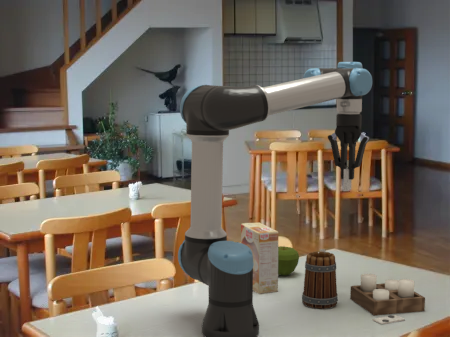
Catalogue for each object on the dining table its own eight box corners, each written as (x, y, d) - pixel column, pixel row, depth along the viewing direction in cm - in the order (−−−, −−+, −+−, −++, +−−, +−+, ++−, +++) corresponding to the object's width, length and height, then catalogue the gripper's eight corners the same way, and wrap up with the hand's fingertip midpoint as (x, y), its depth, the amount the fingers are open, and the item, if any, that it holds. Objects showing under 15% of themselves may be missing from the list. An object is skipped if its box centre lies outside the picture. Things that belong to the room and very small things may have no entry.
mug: (336, 310, 213) (338, 260, 211) (300, 308, 215) (301, 258, 213) (339, 294, 228) (340, 247, 226) (305, 292, 230) (306, 245, 228)
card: (380, 324, 201) (381, 322, 201) (372, 320, 205) (372, 318, 205) (404, 320, 205) (404, 318, 204) (395, 316, 208) (395, 314, 208)
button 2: (376, 311, 211) (377, 294, 210) (369, 306, 215) (370, 289, 214) (391, 309, 212) (392, 292, 211) (384, 304, 216) (384, 288, 216)
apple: (263, 271, 254) (263, 243, 253) (291, 269, 257) (291, 241, 256) (274, 280, 244) (275, 250, 242) (304, 277, 247) (304, 248, 245)
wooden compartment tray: (373, 315, 209) (374, 301, 208) (350, 298, 224) (350, 286, 224) (424, 311, 213) (425, 297, 212) (398, 294, 228) (398, 282, 228)
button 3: (388, 300, 220) (389, 284, 220) (381, 295, 225) (382, 279, 224) (402, 299, 222) (403, 283, 221) (395, 294, 226) (396, 278, 225)
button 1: (364, 294, 218) (365, 278, 217) (357, 290, 222) (358, 274, 222) (378, 293, 219) (379, 277, 218) (371, 289, 224) (372, 273, 223)
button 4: (402, 300, 212) (403, 283, 212) (394, 296, 217) (395, 279, 216) (416, 299, 214) (417, 282, 213) (408, 294, 218) (409, 278, 217)
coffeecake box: (239, 281, 242) (240, 223, 240) (259, 279, 245) (260, 221, 242) (257, 294, 228) (258, 232, 226) (278, 292, 231) (279, 231, 228)
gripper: (324, 112, 224) (322, 189, 227) (365, 114, 217) (363, 193, 220) (333, 111, 230) (331, 186, 233) (373, 113, 224) (371, 189, 227)
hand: (347, 189), depth 227 cm, fingers closed
